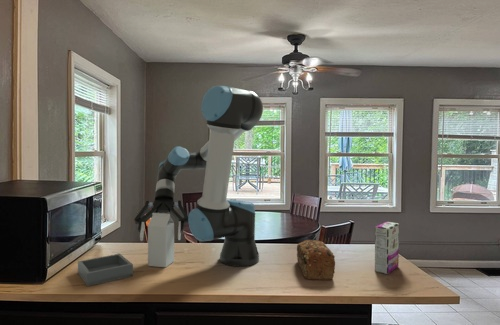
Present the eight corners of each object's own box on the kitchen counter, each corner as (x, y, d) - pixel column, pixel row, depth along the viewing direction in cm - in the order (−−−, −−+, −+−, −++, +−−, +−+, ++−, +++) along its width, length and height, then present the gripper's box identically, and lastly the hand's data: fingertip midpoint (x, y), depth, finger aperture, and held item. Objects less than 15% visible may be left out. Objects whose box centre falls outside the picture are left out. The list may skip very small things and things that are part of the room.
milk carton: (165, 267, 118) (165, 215, 118) (147, 266, 120) (147, 214, 119) (174, 261, 125) (174, 212, 125) (157, 260, 127) (157, 211, 126)
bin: (132, 275, 111) (132, 264, 110) (87, 286, 102) (87, 273, 102) (119, 264, 122) (119, 253, 121) (77, 272, 113) (77, 261, 113)
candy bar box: (385, 263, 125) (386, 221, 125) (398, 266, 122) (400, 223, 121) (373, 271, 117) (374, 225, 117) (387, 275, 114) (389, 228, 113)
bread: (335, 281, 108) (336, 251, 108) (303, 280, 108) (303, 250, 108) (323, 262, 127) (323, 236, 127) (295, 261, 127) (296, 236, 127)
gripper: (195, 197, 140) (194, 242, 126) (134, 198, 136) (126, 244, 122) (195, 186, 134) (194, 232, 120) (132, 187, 131) (123, 234, 116)
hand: (160, 238), depth 121 cm, fingers open, 13 cm apart
